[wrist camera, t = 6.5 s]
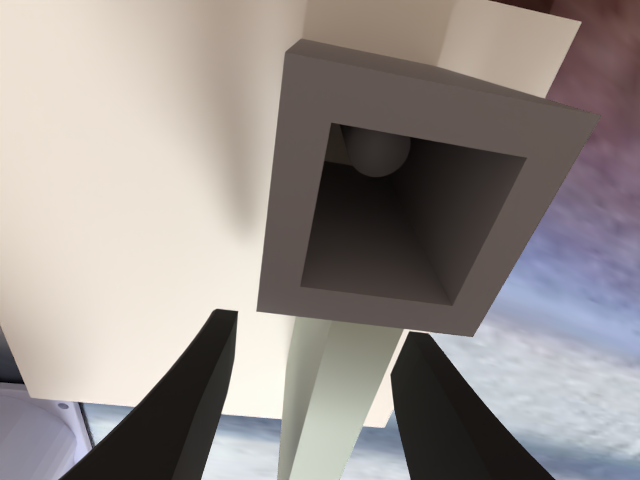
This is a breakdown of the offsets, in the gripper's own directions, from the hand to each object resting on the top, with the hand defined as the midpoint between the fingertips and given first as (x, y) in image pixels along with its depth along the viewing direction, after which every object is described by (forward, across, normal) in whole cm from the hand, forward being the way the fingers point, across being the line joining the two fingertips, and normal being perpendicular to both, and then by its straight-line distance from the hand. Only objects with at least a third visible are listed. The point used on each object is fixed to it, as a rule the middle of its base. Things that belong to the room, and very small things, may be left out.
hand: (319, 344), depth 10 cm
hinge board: (+4, +4, 0) cm, 6 cm away
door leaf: (+3, 0, -1) cm, 3 cm away
